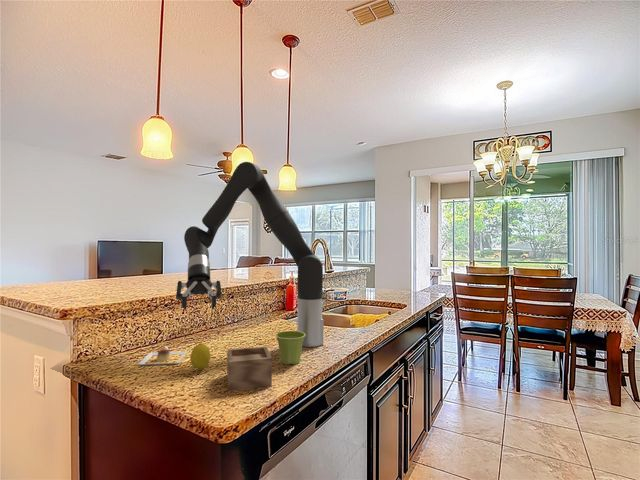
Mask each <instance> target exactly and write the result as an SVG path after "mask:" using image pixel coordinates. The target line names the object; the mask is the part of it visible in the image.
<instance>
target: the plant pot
mask: <svg viewBox="0 0 640 480" xmlns="http://www.w3.org/2000/svg"><path fill="white" fill-rule="evenodd" d="M304 337H305V333H303V332H298V331H297V330H287V331H280V332H277V333H276V334H275V338H276V341H277V343H278V350H279V351H278V352H279V358H280V360H279V361H280V362H281V364H283V365H298V364H299V363H300V362H301V357H302V356H301V355H302V349H303V346H302V343H303V340H304Z"/></svg>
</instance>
